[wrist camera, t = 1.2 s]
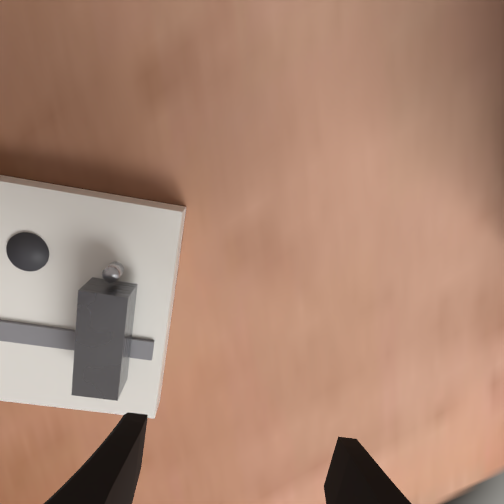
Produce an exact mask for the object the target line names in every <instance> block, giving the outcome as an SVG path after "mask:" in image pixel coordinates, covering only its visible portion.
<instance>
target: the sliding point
mask: <svg viewBox="0 0 504 504" xmlns="http://www.w3.org/2000/svg"><path fill="white" fill-rule="evenodd" d="M123 272H124V267H123V265H122V264H121V263H119V262H112V263H110V264H109V265H108V266H107V267H106V268H105V269H104V270H103V272H102V277H103V279H101V278H94V277H92V278H91V279H90V280H89V281H88V282H87V283H86V284H84V285H83V286H82V287H81V288H80V289H79V290H78V300H77V316H76V332H75V347H74V363H73V378H72V394H71V395H74V396H82V397H90V398H99V399H107V400H116V401H118V399H119V397H120V394H121V392H122V390H123V388H124V385H125V383H126V381H127V377H128V368H129V359H130V350H131V340H132V331H133V322H134V313H135V303H136V294H137V285H138V284H135V283H128V282H121V281H117V280H118V279H119V278H120V276H121V275H122V274H123Z"/></svg>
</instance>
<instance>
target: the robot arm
mask: <svg viewBox="0 0 504 504" xmlns="http://www.w3.org/2000/svg"><path fill="white" fill-rule="evenodd" d="M147 417H148V415H147V414H138V413H129V412H128V413H126V414H125V415H124V416H123V417H122V419H121V420H120V421H119V423H118V424H117V426H116V427H115V428H114V429H113V431H112V432H111V433H110V435H109V436H108V437H107V438H106V439H105V441H104V442H103V443H102V444H101V445H100V447H99V448H98V449H97V450H96V451H95V452H94V453H93V454H92V456H91V457H90V458H89V459H88V460H87V461H86V462H85V463H84V465H83V466H82V467H81V468H80V469H79V470H78V471H77V472H76V473H75V474H74V475H73V476H72V477H71V478H70V479H69V480H68V481H67V482H66V483H65V484H64V485H63V486H62V487H61V488H60V489H59V490H58V491H57V492H56V493H55V494H54V495H53V496H52V497H51V498H50V499H49V500H47V501H46V502H45V503H44V504H132V501H133V497H134V493H135V489H136V485H137V481H138V477H139V473H140V469H141V463H142V456H143V448H144V440H145V432H146V424H147ZM324 490H325V497H326V504H411V503H410V502H409V500H408V499H407V498H406V497H405V496H404V495H403V494H402V493H401V491H400V490H399V489H398V488H397V487H396V486H395V484H394V483H393V482H392V481H391V480H390V479H389V477H388V476H387V475H386V474H385V473H384V471H383V470H382V469H381V468H380V467H379V465H378V464H377V463H376V462H375V461H374V459H373V458H372V457H371V456H370V455H369V453H368V452H367V451H366V450H365V449H364V447H363V446H362V445H361V444H360V443H359V442H358V440H357V439H352V438H344V437H338V440H337V443H336V446H335V450H334V453H333V457H332V460H331V464H330V467H329V470H328V474H327V477H326V481H325V484H324Z"/></svg>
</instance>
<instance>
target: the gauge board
mask: <svg viewBox="0 0 504 504" xmlns="http://www.w3.org/2000/svg"><path fill="white" fill-rule="evenodd" d="M185 213H186V207H185V206H179V205H173V204H168V203H162V202H156V201H150V200H144V199H138V198H132V197H127V196H121V195H115V194H109V193H103V192H97V191H92V190H86V189H80V188H74V187H68V186H62V185H56V184H51V183H45V182H39V181H33V180H27V179H21V178H16V177H10V176H4V175H0V401H8V402H16V403H25V404H33V405H42V406H51V407H59V408H68V409H77V410H85V411H94V412H103V413H111V414H120V415H125V414H126V413H128V412H129V413H138V414H147V415H148V417H147V418H154V419H155V416H156V412H157V409H158V405H159V402H160V396H161V389H162V382H163V374H164V367H165V360H166V352H167V345H168V338H169V330H170V323H171V316H172V308H173V301H174V294H175V286H176V279H177V272H178V264H179V257H180V250H181V242H182V235H183V228H184V220H185ZM112 262H119V263H121V264H122V265H123V267H124V272H123V274H122V275H121V276H120V278H119V279H118V280H117V281H121V282H128V283H135V284H138V285H137V294H136V303H135V313H134V322H133V331H132V340H131V350H130V359H129V368H128V377H127V381H126V383H125V385H124V388H123V390H122V392H121V394H120V397H119V399H118V401H116V400H107V399H99V398H90V397H82V396H74V395H71V394H72V378H73V363H74V347H75V332H76V316H77V300H78V290H79V289H80V288H81V287H82V286H83V285H84V284H86V283H87V282H88V281H89V280H90V279H91V278H92V277H94V278H101V279H103V277H102V272H103V270H104V269H105V268H106V267H107V266H108V265H109V264H110V263H112Z"/></svg>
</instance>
